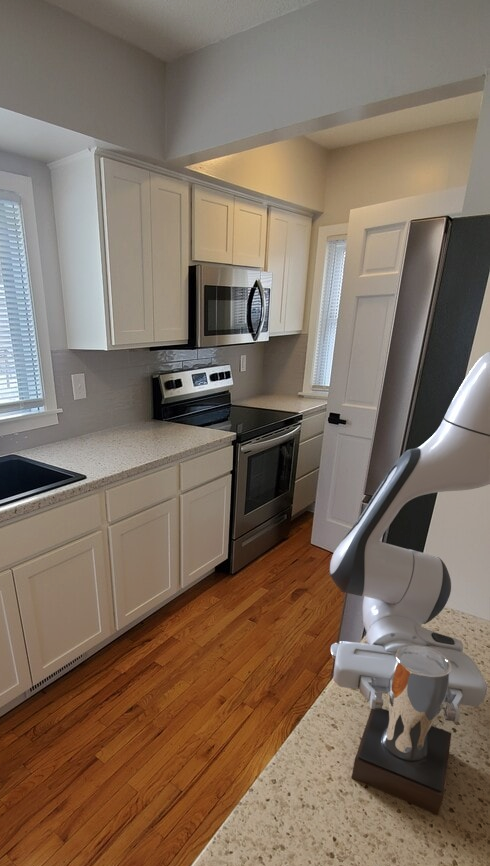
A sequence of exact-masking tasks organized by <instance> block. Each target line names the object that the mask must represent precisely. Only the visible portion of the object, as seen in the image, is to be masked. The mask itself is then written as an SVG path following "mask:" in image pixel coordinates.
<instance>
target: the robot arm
mask: <svg viewBox="0 0 490 866" xmlns="http://www.w3.org/2000/svg"><path fill="white" fill-rule="evenodd" d="M472 366H473V367H471V369H470V370H469V372H468V374H467V375H466V377H465V378H464V380H462V382H461V384H460V386H459V388H458V390H457V391H456V393H455V395H454V397H453V398H452V400H451V402H450V404H449V406H448V408H447V410H446V413H445V414H444V417H443V418H442V421H441V423H440V425H439V426H438V428H437V429H436V430H435V432H434V433H433V434H432V436H430V437H429V438H428V439H427V440H426V441H424V443H422V444H421V445H420V446H418V447H415V448H410V449H407V450H406V451H404V452H403V454H402V455H400V457H398V459H397V460H396V461H395V462H394V464H393V465H392V467H391V468H390V469H389V470H388V472H387V473H386V474H385V476H384V478H383V479H382V481H381V483H380V484H379V486H378V487H377V488H376V490H375V492H374V493H373V495H372V496H371V498H370V499H369V501H368V503H367V504H366V506H365V507H364V509H363V511H362V512H361V514H360V515H359V516H358V518H357V520H356V522H355V523H354V525H353V526H352V527H351V529H350V530H349V531H348V532H347V533H346V535H345V536H344V538H343V539H342V540H341V541H340V543H339V544H338V546H337V547H336V548H335V550H334V551H333V554H332V556H331V559H330V563H329V570H328V572H329V573H328V574H329V575H330V578H331V579H332V582H333V583H334V584H335V585H336V587H337V588H338V589H339V591H341V592H342V593H343V594H350V595H355V596H358V597H359V596H360V597H363V600H362V620H363V627H364V630H365V632H366V633H365V634H366V637H365V638H366V639H365V640H366V643H362V642H356V641H355V642H354V641H348V640H340V641H339V642H334V643H332V644H331V645H330V655H331V657H332V658H333V659H334V667H333V682H334V683H335V684H336V685H337V686H338V687H340V688H346V689H351V690H352V689H354V690H359V693H360V694H361V695H362V696H363V697H364V699H366V700H367V701H368V702H369V709H370V710H371V709H376V710H382V708H383V706H384V698H383V697H384V696H383V694H387V695H388V682H389V676H390V672H391V668H392V664H393V661H394V658H395V655H396V651H397V649H398V648H400V647H401V646H404V645H409V644H416V645H423V646H427V647H430V648H432V649H435V650H437V651H439V652H440V653H442V654H443V655H444V656H446V657H447V659H448V660H449V661H450V663H451V672H450V679H449V686H448V691H447V695H446V698H445V702H444V704H443V706H444V708H443V709H442V714H443V717H444V721H448V722H453V723H459V721H460V718H461V711H460V706H469V707H473V708H474V707H475V708H478V707H480V706H481V705H482V703H483V702H484V701H485V697H486V694H487V687H488V686H487V682H486V679H485V678H484V675H483V674H482V672H481V670H480V669H479V667H478V665H477V664H476V662H475V660H474V659H473V658H472V657H471V656H470V655H468V654H467V653H465V652H464V644H463V642H462V641H461V640H460V639H458V638H456V637H452V636H448V635H445V634H442V633H439V632H436V631H433V630H430V629H428V628H426V627H424V626H422V625H426V624H428V623H430V622H431V621H433V619H435V618H436V617H437V616H438V615H439V614H440V613H441V612H442V611H443V610H444V609H445V607H446V605H447V603H448V601H449V598H450V596H451V591H452V582H451V581H452V580H451V576H450V573H449V570H448V568H447V566H446V563H445V562H444V561H443V560H442V559H441V557H439V556H434V555H432V554H428V553H425V552H422V551H417V550H414V549H410V548H404V547H401V546H397V545H395V544H391V543H387V542H383V541H380V540H381V539H382V537H383V535H384V534H385V533H386V531H387V530H388V528H389V527H390V526H391V524H392V523H393V521H394V519H395V518H396V516H397V515H398V514H399V512H400V510H402V508H403V507H404V506H405V505H406V504H408V502H409V501H412V500H413V499H415V498H418V497H421V496H424V495H430V494H436V493H446V492H459V491H460V492H461V491H471V490H475V489H479V488H480V489H481V488H483V487H486V486H489V485H490V351H488V352H486V353H484V354H482V355H481V356H480V357H479V359H478V360H477V361H476V362H475V364H474V365H472Z"/></svg>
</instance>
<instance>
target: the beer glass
mask: <svg viewBox="0 0 490 866" xmlns="http://www.w3.org/2000/svg"><path fill="white" fill-rule="evenodd" d="M450 672H451V663H450V661H449V660H448V659H447V657H446V656H444V655H443V654H442V653H440V652H439V651H437V650H435V649H432V648H430V647H427V646H423V645H416V644H409V645H404V646H401V647H400V648H398V649H397V651H396V655H395V658H394V661H393V664H392V668H391V672H390V676H389V682H388V694H387V710H388V720H387V723H386V725H385V727H384V729H383V731H382V734H381V739H382V743H383V745H384V746H385V747H386V749H387V750H388V751H389V752H391V753H392V754H393V755H395V756H397V757H399V758H401V759H404V760H409V761H417V760H421V759H423V758H424V757H425V756H426V755H427V753H428V735H429V731H430V729H431V727H432V726H434V723H435V721H436V720H437V718H438V717H439V714H440V712H441V711H442V710H443V709H442V708H443V706H444V705H445V698H446V695H447V691H448V686H449V679H450Z"/></svg>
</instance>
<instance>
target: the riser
mask: <svg viewBox="0 0 490 866" xmlns="http://www.w3.org/2000/svg"><path fill="white" fill-rule="evenodd" d="M387 720H388V709H385V708H383V707H382V710H376V709H371V708H370V711H369V715H368V718H367V721H366V724H365V727H364V729H363V733H362V736H361V739H360V742H359V745H358V748H357V750H356V751H357V752H356V754H355V757H354V761H353V768H352V773H351V779H353V780H355V781H358V782H360V783H362V784H364V785H367V786H369V787H372V788H374V789H376V790H378V791H380V792H383V793H385V794H388V795H389V796H392V797H395V798H397V799H400V800H401V801H403V802H406V803H409V804H410V805H413V806H415V807H418V808H419V809H422V810H424V811H426V812H429V813H432V814H434V815H436V816H439V814H440V811H441V807H442V804H443V800H444V797H445V789H446V781H447V772H448V765H449V757H450V748H451V741H452V732H450V731H448V730H445V729H442V728H440V727H436V726H434V725H432V727H431V729H430V731H429V735H428V753H427V755H426V756H425V757H424V758H423V759H421V760H417V761H409V760H404V759H401V758H399V757H397V756H395V755H393V754H392V753H391V752H389V751H388V750H387V749H386V747H385V746H384V745H383V743H382V739H381V734H382V731H383V729H384V727H385V725H386V723H387Z"/></svg>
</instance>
